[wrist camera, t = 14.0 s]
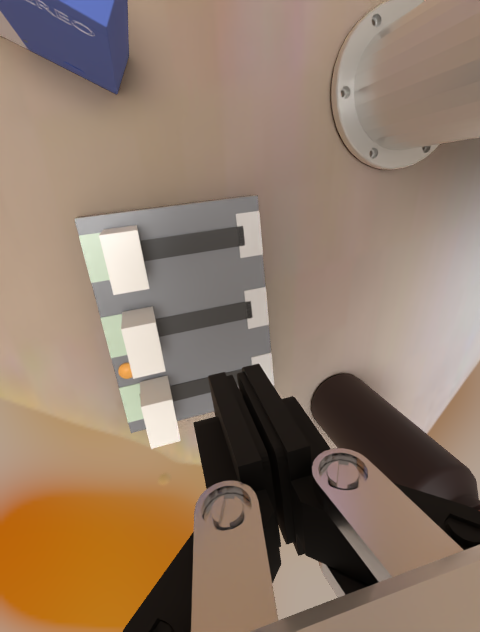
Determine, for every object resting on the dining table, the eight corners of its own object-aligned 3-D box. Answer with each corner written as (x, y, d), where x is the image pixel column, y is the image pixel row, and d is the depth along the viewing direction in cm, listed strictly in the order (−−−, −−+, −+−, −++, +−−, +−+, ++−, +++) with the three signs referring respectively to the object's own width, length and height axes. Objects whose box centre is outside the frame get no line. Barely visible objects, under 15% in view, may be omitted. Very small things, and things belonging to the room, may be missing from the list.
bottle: (361, 364, 40) (551, 507, 22) (365, 413, 43) (538, 578, 24) (305, 383, 39) (460, 552, 21) (313, 432, 41) (456, 622, 23)
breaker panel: (250, 195, 31) (258, 195, 29) (267, 385, 37) (276, 397, 35) (78, 217, 28) (73, 218, 26) (131, 420, 34) (130, 435, 32)
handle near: (136, 224, 27) (137, 229, 23) (147, 276, 28) (149, 288, 25) (103, 229, 26) (98, 235, 23) (115, 281, 28) (113, 295, 24)
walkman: (129, 55, 25) (126, -49, 14) (117, 95, 26) (106, 24, 15) (4, -15, 22) (-117, -210, 12) (-7, 32, 23) (-132, -112, 12)
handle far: (167, 375, 32) (172, 399, 28) (175, 413, 33) (180, 440, 29) (139, 381, 31) (140, 407, 27) (148, 420, 32) (151, 448, 29)
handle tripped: (152, 306, 29) (155, 322, 26) (161, 350, 31) (165, 371, 27) (122, 311, 29) (121, 329, 25) (133, 356, 30) (133, 378, 26)
